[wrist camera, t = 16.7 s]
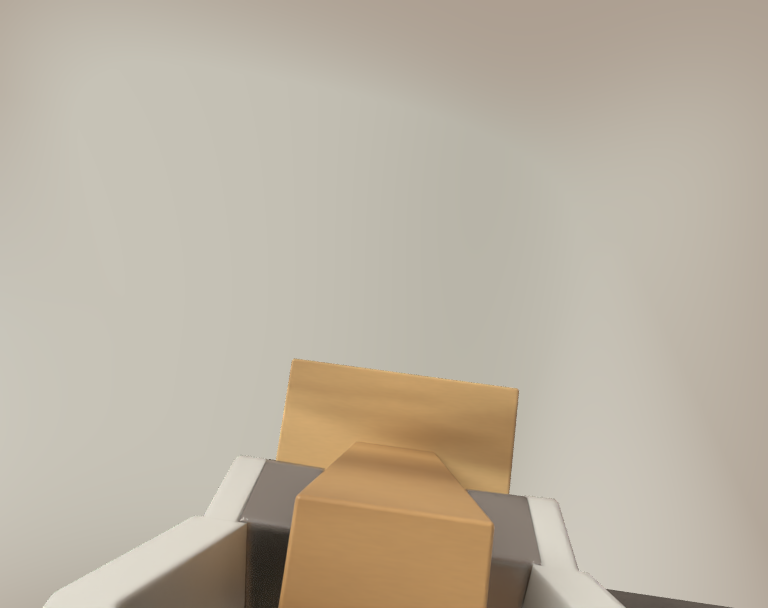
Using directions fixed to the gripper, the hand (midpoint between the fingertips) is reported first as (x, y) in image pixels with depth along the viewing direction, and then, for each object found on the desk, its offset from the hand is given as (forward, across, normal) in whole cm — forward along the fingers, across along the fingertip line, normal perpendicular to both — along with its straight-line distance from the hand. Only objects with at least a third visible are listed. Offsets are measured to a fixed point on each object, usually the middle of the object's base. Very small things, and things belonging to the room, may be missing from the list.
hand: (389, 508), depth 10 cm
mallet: (+3, 0, +3) cm, 5 cm away
